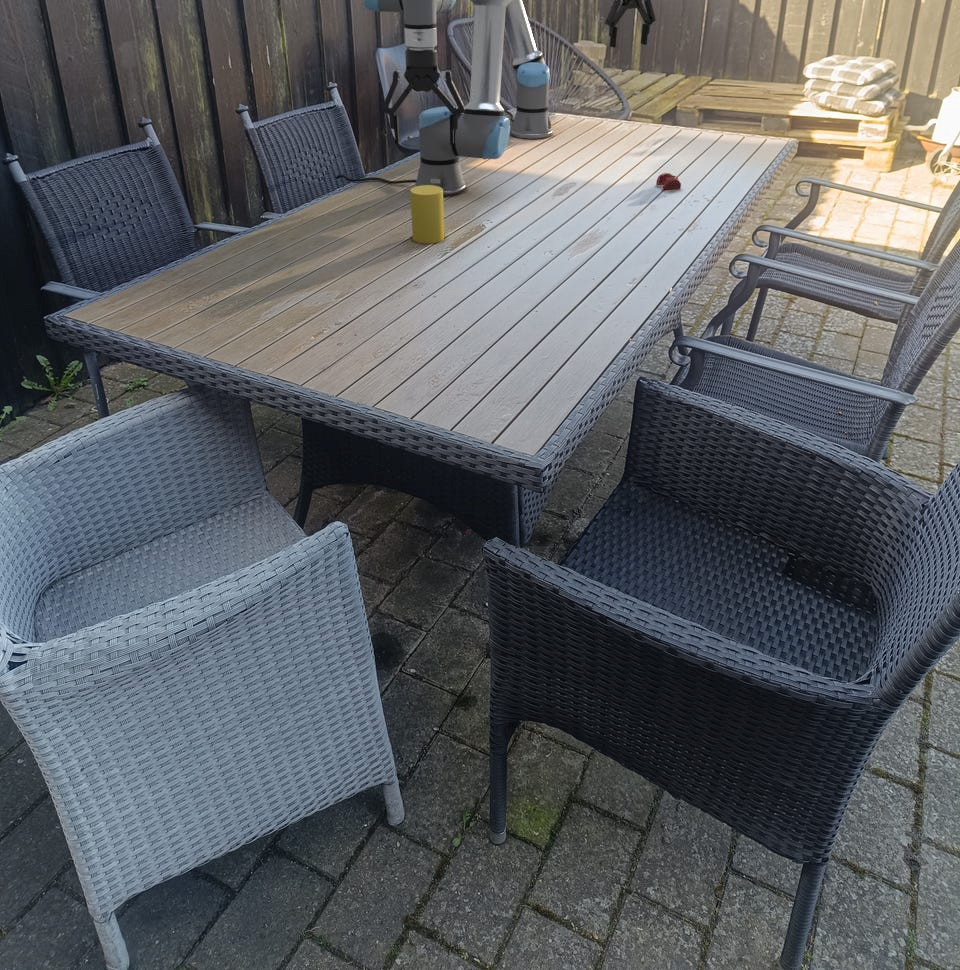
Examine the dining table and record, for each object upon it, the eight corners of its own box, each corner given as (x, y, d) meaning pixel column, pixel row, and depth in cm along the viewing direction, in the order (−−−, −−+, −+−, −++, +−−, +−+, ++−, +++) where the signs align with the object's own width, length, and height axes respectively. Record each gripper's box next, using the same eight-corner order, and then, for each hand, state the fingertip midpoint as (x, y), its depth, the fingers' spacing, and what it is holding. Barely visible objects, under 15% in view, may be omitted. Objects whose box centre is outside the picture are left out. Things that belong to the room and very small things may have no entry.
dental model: (672, 169, 261) (683, 176, 255) (671, 183, 263) (682, 190, 257) (655, 171, 260) (666, 178, 254) (654, 185, 262) (665, 192, 256)
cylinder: (430, 230, 228) (428, 183, 221) (450, 238, 223) (449, 190, 216) (406, 237, 224) (403, 189, 216) (426, 246, 219) (424, 196, 211)
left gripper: (365, 50, 194) (372, 146, 207) (473, 50, 194) (474, 147, 206) (370, 45, 200) (376, 138, 213) (475, 45, 200) (475, 139, 212)
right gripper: (610, -20, 288) (605, 49, 300) (670, -23, 297) (662, 44, 309) (598, -22, 293) (593, 46, 306) (657, -25, 302) (650, 41, 315)
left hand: (424, 143), depth 209 cm, fingers open, 13 cm apart
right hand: (628, 45), depth 308 cm, fingers open, 13 cm apart
